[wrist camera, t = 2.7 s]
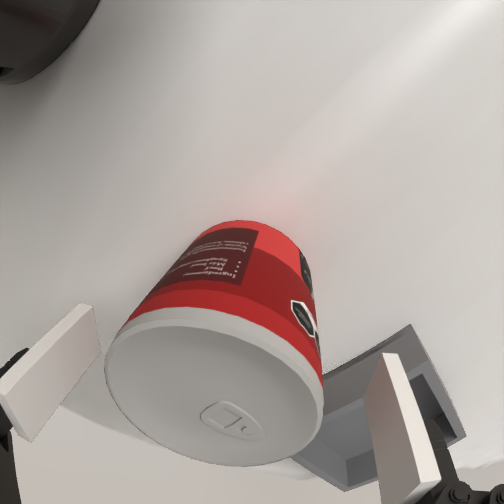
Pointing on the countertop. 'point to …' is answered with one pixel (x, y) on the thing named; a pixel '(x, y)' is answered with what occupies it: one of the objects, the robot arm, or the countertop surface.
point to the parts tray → (355, 417)
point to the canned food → (225, 351)
